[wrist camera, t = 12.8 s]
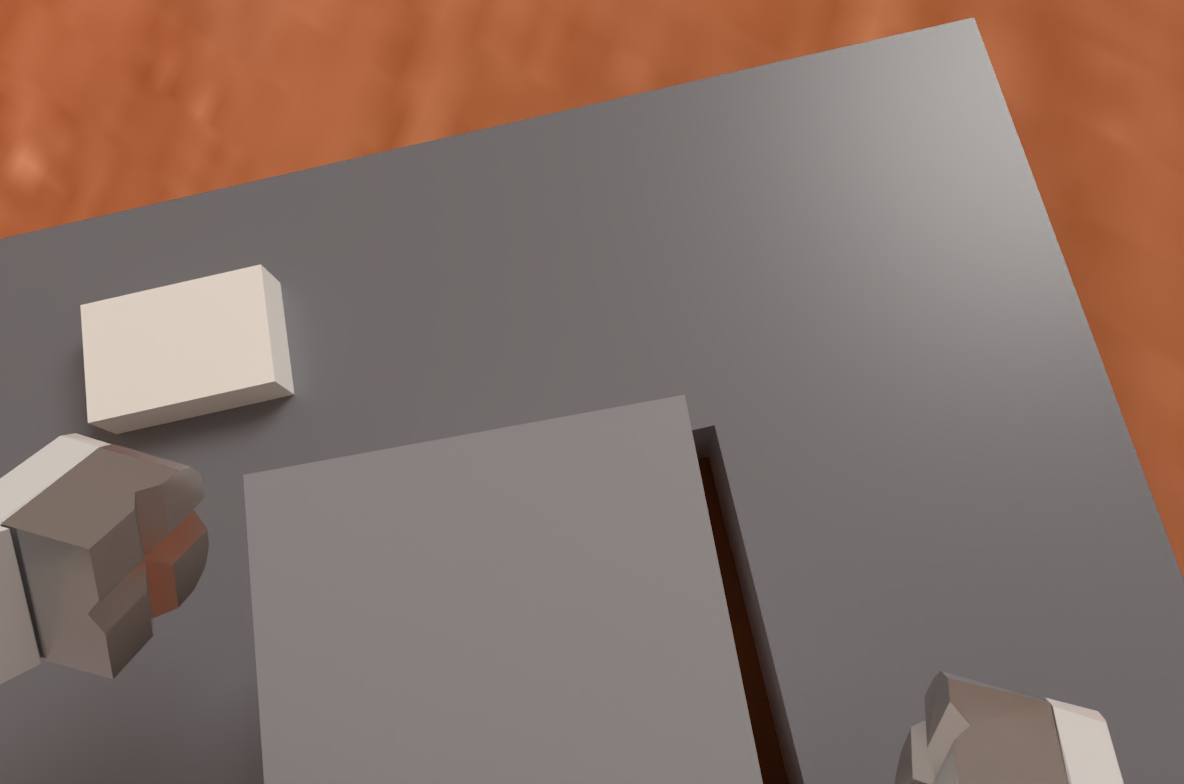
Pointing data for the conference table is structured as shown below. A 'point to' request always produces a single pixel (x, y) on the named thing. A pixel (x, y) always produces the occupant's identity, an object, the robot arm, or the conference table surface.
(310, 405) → the socket plate
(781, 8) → the conference table surface
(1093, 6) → the conference table surface
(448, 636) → the plug
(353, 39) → the conference table surface
